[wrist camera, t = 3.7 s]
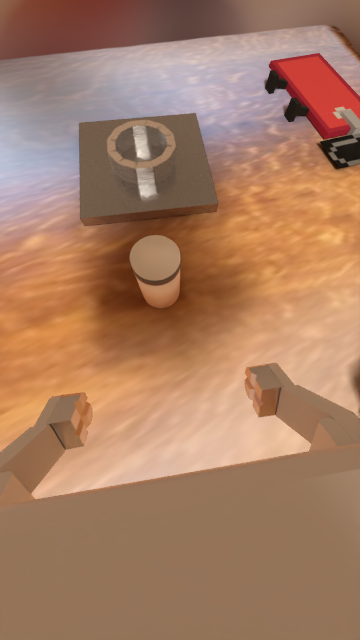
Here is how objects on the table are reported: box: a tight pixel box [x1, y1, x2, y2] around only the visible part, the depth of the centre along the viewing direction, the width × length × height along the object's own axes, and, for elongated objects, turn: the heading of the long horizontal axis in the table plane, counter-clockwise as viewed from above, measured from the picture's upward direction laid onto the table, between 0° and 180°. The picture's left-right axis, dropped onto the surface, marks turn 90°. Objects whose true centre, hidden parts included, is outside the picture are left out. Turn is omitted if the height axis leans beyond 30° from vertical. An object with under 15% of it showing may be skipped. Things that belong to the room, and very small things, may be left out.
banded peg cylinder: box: [130, 235, 181, 308], centre depth 24 cm, size 5×5×8 cm
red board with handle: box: [265, 53, 360, 168], centre depth 39 cm, size 30×3×15 cm
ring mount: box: [79, 113, 218, 226], centre depth 33 cm, size 20×20×4 cm
